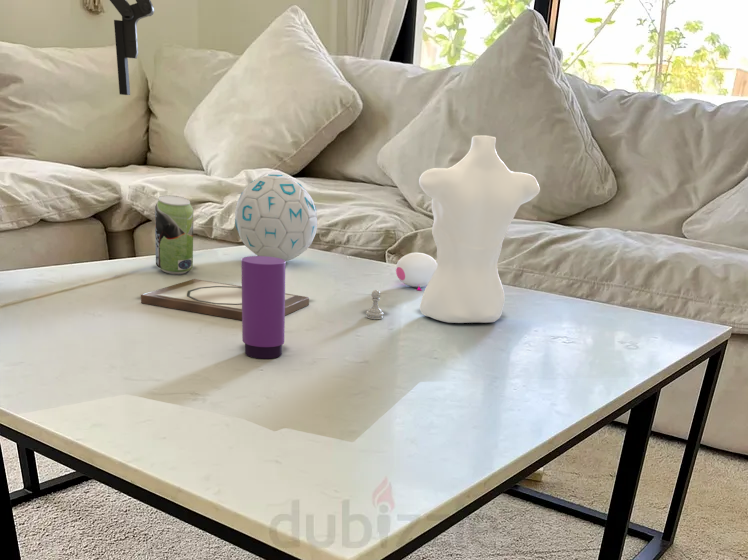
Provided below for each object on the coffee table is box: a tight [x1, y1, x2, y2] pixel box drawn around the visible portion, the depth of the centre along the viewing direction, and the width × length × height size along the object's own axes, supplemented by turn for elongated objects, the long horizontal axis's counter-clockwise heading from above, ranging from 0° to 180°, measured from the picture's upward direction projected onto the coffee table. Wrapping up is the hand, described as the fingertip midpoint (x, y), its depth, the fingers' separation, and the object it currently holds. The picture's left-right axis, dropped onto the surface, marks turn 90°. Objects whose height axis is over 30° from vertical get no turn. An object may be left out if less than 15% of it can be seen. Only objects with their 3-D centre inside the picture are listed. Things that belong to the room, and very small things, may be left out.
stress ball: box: [395, 252, 437, 291], centre depth 135 cm, size 8×8×7 cm
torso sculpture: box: [418, 134, 541, 324], centre depth 112 cm, size 18×10×25 cm, turn 108°
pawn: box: [365, 289, 384, 320], centre depth 113 cm, size 3×3×4 cm
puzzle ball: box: [234, 173, 318, 262], centre depth 144 cm, size 15×15×15 cm
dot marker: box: [240, 255, 286, 360], centre depth 92 cm, size 5×5×11 cm
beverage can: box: [154, 194, 194, 275], centre depth 129 cm, size 6×7×12 cm
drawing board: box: [140, 278, 310, 321], centre depth 115 cm, size 20×14×1 cm
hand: (55, 89), depth 80 cm, fingers open, 13 cm apart
